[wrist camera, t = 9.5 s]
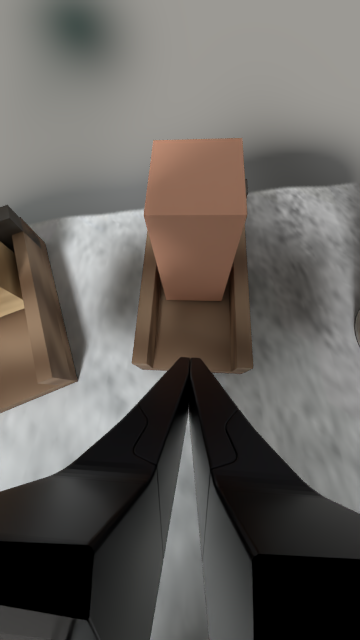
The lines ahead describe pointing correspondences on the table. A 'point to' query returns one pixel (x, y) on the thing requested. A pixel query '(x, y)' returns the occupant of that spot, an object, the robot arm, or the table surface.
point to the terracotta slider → (195, 214)
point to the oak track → (32, 323)
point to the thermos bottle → (358, 327)
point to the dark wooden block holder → (194, 322)
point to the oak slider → (9, 283)
